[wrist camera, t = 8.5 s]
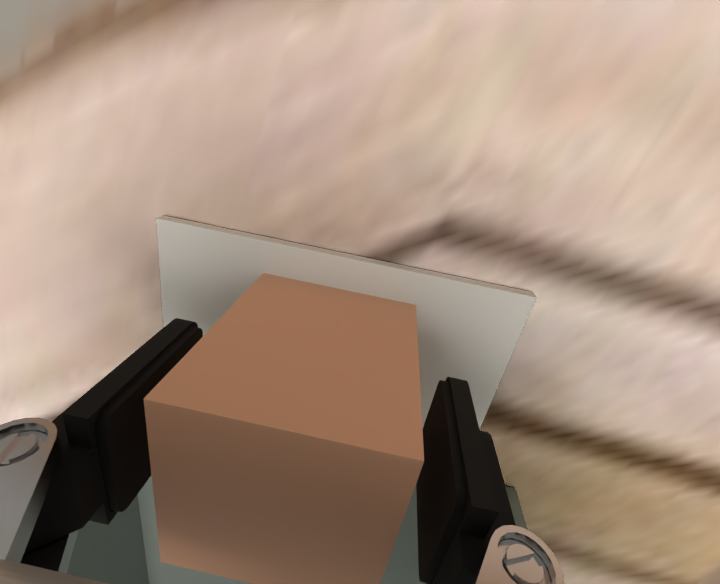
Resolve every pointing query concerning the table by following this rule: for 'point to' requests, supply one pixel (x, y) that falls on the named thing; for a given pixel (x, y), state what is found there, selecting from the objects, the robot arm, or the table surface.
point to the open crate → (161, 580)
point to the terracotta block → (289, 437)
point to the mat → (357, 274)
